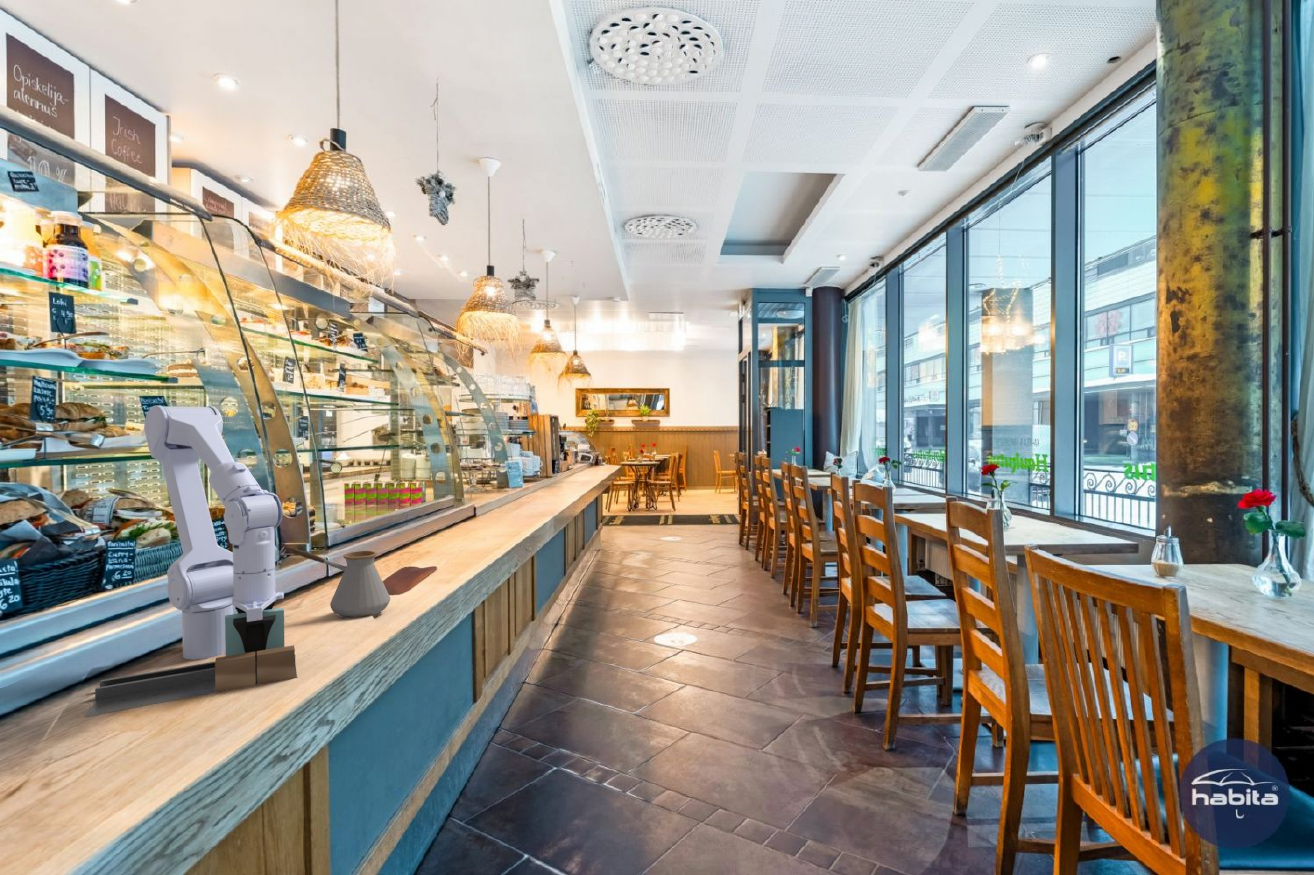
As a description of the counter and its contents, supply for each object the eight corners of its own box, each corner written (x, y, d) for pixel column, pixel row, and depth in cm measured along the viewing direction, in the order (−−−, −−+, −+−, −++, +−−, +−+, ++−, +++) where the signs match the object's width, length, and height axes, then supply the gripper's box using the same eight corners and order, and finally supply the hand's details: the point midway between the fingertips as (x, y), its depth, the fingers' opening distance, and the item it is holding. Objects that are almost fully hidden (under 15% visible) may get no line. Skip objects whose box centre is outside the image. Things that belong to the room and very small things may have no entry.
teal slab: (226, 671, 102) (225, 615, 101) (284, 661, 106) (283, 607, 105) (226, 674, 100) (225, 617, 100) (284, 664, 105) (283, 609, 104)
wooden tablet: (402, 570, 174) (402, 564, 174) (439, 570, 174) (439, 564, 174) (359, 598, 147) (359, 591, 147) (402, 598, 147) (402, 591, 147)
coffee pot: (397, 605, 140) (396, 538, 139) (381, 622, 129) (380, 549, 128) (294, 608, 137) (293, 539, 137) (268, 626, 126) (267, 551, 125)
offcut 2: (257, 679, 98) (256, 651, 98) (294, 673, 101) (294, 645, 101) (257, 684, 97) (256, 655, 96) (295, 677, 99) (294, 649, 99)
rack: (103, 692, 96) (102, 676, 96) (294, 660, 109) (294, 645, 109) (85, 723, 86) (85, 705, 86) (297, 683, 99) (297, 668, 99)
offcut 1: (216, 687, 96) (215, 657, 95) (255, 680, 98) (255, 651, 98) (215, 692, 94) (215, 662, 94) (255, 684, 96) (255, 655, 96)
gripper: (284, 576, 98) (285, 662, 99) (282, 558, 111) (283, 635, 111) (229, 582, 95) (231, 672, 95) (233, 562, 107) (234, 642, 108)
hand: (255, 652), depth 103 cm, fingers open, 7 cm apart
